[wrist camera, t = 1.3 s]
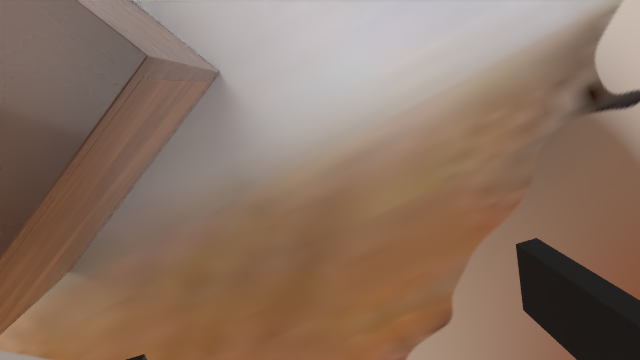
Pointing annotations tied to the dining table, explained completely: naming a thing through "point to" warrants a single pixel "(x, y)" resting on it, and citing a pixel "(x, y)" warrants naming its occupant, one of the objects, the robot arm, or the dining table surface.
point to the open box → (79, 127)
